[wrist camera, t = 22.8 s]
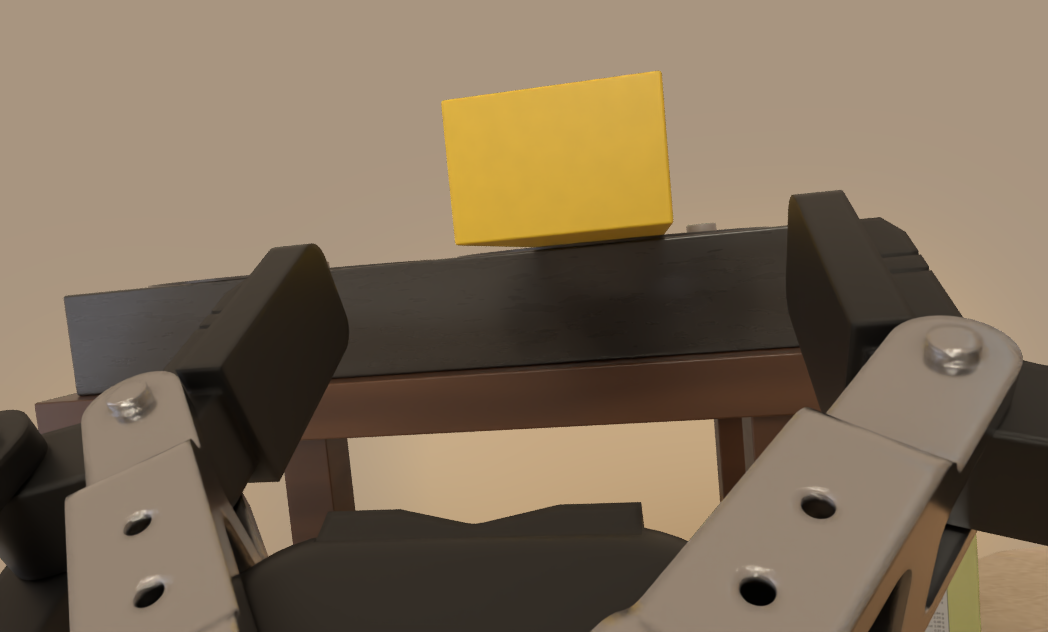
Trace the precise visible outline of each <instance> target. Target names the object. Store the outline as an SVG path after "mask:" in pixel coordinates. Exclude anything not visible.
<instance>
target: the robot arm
mask: <svg viewBox="0 0 1048 632" xmlns="http://www.w3.org/2000/svg"><path fill="white" fill-rule="evenodd" d="M786 297H787V305H788V311H789V316H790V319H791V322H792V325H793V328H794V331H795V334H796V337H797V340H798V343H799V346H800V349H801V352H802V355H803V358H804V361H805V364H806V367H807V370H808V373H809V376H810V379H811V382H812V385H813V388H814V391H815V394H816V397H817V400H818V403H819V407H820V410H821V411H818V410H815V409H813V408H810V407H804V408H802V409H800V410H799V411H798V412H797V413H796V414H795V415H794V416H793V417H792V418H791V419H790V420H789V421H788V423H787V424H786V425H785V426H784V427H783V429H782V430H781V431H780V432H779V433H778V435H777V436H776V437H775V438H774V439H773V441H772V442H771V443H770V444H769V445H768V447H767V448H766V449H765V450H764V451H763V453H762V454H761V455H760V456H759V457H758V459H757V460H756V461H755V462H754V463H753V465H752V466H751V467H750V468H749V469H748V471H747V472H746V473H745V474H744V475H743V477H742V478H741V479H740V480H739V481H738V482H737V484H736V485H735V486H734V487H733V488H732V490H731V491H730V492H729V493H728V494H727V496H726V497H725V498H724V499H723V500H722V502H721V503H720V504H719V505H718V506H717V508H716V509H715V510H714V511H713V512H712V514H711V515H710V516H709V517H708V518H707V520H706V521H705V522H704V523H703V525H702V526H701V527H700V528H699V529H698V530H697V532H696V533H695V534H694V535H693V536H692V538H691V539H690V540H689V541H686V540H684V539H682V538H679V537H676V536H673V535H670V534H667V533H664V532H661V531H656V530H651V529H647V528H644V524H643V523H644V522H643V514H642V506H641V502H631V503H599V504H564V505H556V506H552V507H547V508H543V509H539V510H535V511H530V512H526V513H522V514H518V515H514V516H509V517H505V518H501V519H497V520H493V521H489V522H484V523H478V524H470V523H463V522H459V521H454V520H449V519H444V518H439V517H434V516H430V515H425V514H420V513H415V512H410V511H406V510H401V509H398V510H397V509H396V510H362V511H328V513H327V515H326V517H325V520H324V522H323V525H322V527H321V529H320V532H319V534H318V537H315V538H311V539H308V540H305V541H303V542H300V543H297V544H294V545H291V546H289V547H287V548H285V549H282V550H280V551H278V552H276V553H274V554H273V555H271V556H269V557H268V554H267V552H266V549H265V546H264V543H263V541H262V538H261V535H260V532H259V530H258V527H257V524H256V521H255V518H254V516H253V513H252V510H251V507H250V505H249V504H248V502H247V500H246V498H245V496H244V494H243V493H242V492H243V490H244V488H245V486H246V485H247V483H255V482H279V481H280V479H281V477H282V475H283V473H284V472H285V470H286V468H287V466H288V464H289V462H290V460H291V458H292V456H293V454H294V452H295V450H296V448H297V446H298V444H299V442H300V440H301V438H302V436H303V434H304V432H305V430H306V428H307V426H308V424H309V422H310V420H311V418H312V416H313V414H314V412H315V410H316V408H317V406H318V404H319V402H320V400H321V398H322V396H323V395H324V393H325V391H326V389H327V387H328V385H329V383H330V381H331V379H332V377H333V375H334V373H335V371H336V369H337V367H338V365H339V363H340V361H341V359H342V357H343V355H344V353H345V351H346V349H347V346H348V341H349V325H348V319H347V316H346V313H345V310H344V307H343V304H342V302H341V299H340V296H339V294H338V291H337V288H336V285H335V283H334V280H333V277H332V275H331V272H330V269H329V267H328V264H327V261H326V259H325V256H324V254H323V252H322V250H321V249H320V248H319V247H318V246H317V245H316V244H303V245H293V246H283V247H275V248H272V249H271V250H270V251H269V252H268V253H267V254H266V255H265V257H264V258H263V259H262V261H261V262H260V263H259V264H258V266H257V267H256V268H255V269H254V271H253V272H252V273H251V274H250V276H249V277H248V278H246V279H245V280H243V281H242V282H241V283H239V284H238V285H236V286H235V287H234V288H232V289H231V290H229V291H228V292H227V293H225V295H224V296H223V297H222V298H221V299H220V301H219V302H218V303H217V304H216V306H215V307H214V308H213V309H212V310H211V315H207V317H206V318H205V319H204V320H203V322H202V323H201V324H200V325H199V329H197V330H195V331H194V333H193V334H192V335H191V336H190V338H189V339H188V340H187V341H186V342H185V344H184V345H183V346H182V347H181V349H180V350H179V351H178V352H177V354H176V355H175V356H174V357H173V358H172V360H171V361H170V362H169V363H168V365H167V366H166V367H165V368H164V369H163V371H154V372H147V373H143V374H139V375H136V376H133V377H131V378H128V379H126V380H123V381H121V382H119V383H117V384H116V385H114V386H112V387H110V388H109V389H107V390H106V391H104V392H103V393H102V394H100V395H99V396H98V397H97V398H96V399H95V400H93V401H92V402H91V404H90V405H89V406H88V407H87V408H86V410H85V412H84V413H83V416H82V418H81V423H79V424H75V425H72V426H68V427H65V428H61V429H57V430H54V431H50V432H47V433H43V434H41V433H40V432H39V431H38V430H37V428H36V427H35V425H34V424H33V423H32V421H31V420H30V418H29V417H28V416H27V415H26V414H25V413H24V412H22V411H18V410H6V411H0V558H1V559H2V560H3V562H4V563H5V564H6V565H7V566H6V567H5V569H4V570H3V571H2V572H1V574H0V632H925V630H926V628H927V626H928V625H929V623H930V621H931V619H932V617H933V615H934V613H935V611H936V609H937V607H938V605H939V603H940V602H941V600H942V598H943V596H944V594H945V592H946V590H947V588H948V586H949V584H950V582H951V580H952V579H953V577H954V575H955V573H956V571H957V569H958V567H959V565H960V563H961V561H962V559H963V557H964V556H965V554H966V552H967V550H968V548H969V546H970V544H971V542H972V540H973V538H974V536H975V534H976V533H977V531H982V532H987V533H991V534H996V535H1000V536H1005V537H1010V538H1014V539H1018V540H1023V541H1028V542H1033V543H1037V544H1041V545H1046V546H1048V366H1046V365H1041V364H1036V363H1032V362H1028V361H1024V360H1023V356H1022V353H1021V350H1020V349H1019V347H1018V346H1017V344H1016V343H1015V342H1014V341H1013V340H1012V339H1011V338H1010V337H1009V336H1007V335H1006V334H1005V333H1003V332H1002V331H999V330H998V329H996V328H994V327H992V326H990V325H987V324H985V323H982V322H979V321H975V320H972V319H967V318H963V317H962V315H961V314H960V312H959V311H958V309H957V308H956V306H955V305H954V303H953V302H952V300H951V299H950V297H949V296H948V294H947V293H946V292H945V290H944V288H943V287H942V285H941V284H940V282H939V281H938V279H937V278H936V276H935V275H934V273H933V272H932V271H929V266H928V264H927V263H926V261H925V260H924V258H923V257H922V256H921V255H919V254H918V250H917V248H916V247H915V245H914V244H913V242H912V241H911V239H910V238H909V236H908V235H907V234H906V232H905V231H903V230H901V229H899V228H898V227H896V226H894V225H893V224H891V223H889V222H887V221H886V220H884V219H882V218H880V217H878V218H867V219H859V218H858V216H857V214H856V212H855V211H854V209H853V207H852V205H851V204H850V202H849V200H848V198H847V197H846V195H845V193H844V192H843V191H842V190H835V191H825V192H816V193H807V194H797V195H792V196H791V197H790V201H789V209H788V232H787V260H786Z"/></svg>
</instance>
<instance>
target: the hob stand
mask: <svg viewBox="0 0 1048 632" xmlns="http://www.w3.org/2000/svg"><path fill="white" fill-rule="evenodd" d="M686 228H687V233H678V234H666V235H655V236H644V237H634V238H623V239H613V240H602V241H592V242H582V243H572V244H562V245H552V246H543V247H533V248H524V249H515V250H506V251H498V252H489V253H480V254H472V255H466V256H459V257H457V258H449V259H438V260H421V261H408V262H395V263H382V264H370V265H358V266H345V267H334V268H330V267H329V262H327V264H328V267H329V269H330V272H331V275H332V277H333V280H334V283H335V285H336V288H337V291H338V294H339V296H340V299H341V302H342V304H343V307H344V310H345V313H346V316H347V319H348V325H349V341H348V346H347V349H346V351H345V353H344V355H343V357H342V359H341V361H340V363H339V365H338V367H337V369H336V371H335V373H334V375H333V377H332V379H331V381H330V383H329V385H328V387H327V389H326V391H325V393H324V395H323V396H322V398H321V400H320V402H319V404H318V406H317V408H316V410H315V412H314V414H313V416H312V418H311V420H310V422H309V424H308V426H307V428H306V430H305V432H304V434H303V436H302V438H301V440H300V442H299V444H298V446H297V448H296V450H295V452H294V454H293V456H292V458H291V460H290V462H289V464H288V466H287V468H286V470H285V472H284V473H285V481H286V489H287V497H288V506H289V514H290V522H291V531H292V539H293V545H294V544H297V543H300V542H303V541H305V540H308V539H311V538H315V537H318V534H319V532H320V529H321V527H322V525H323V522H324V520H325V517H326V515H327V513H328V511H355V503H354V495H353V486H352V477H351V469H350V460H349V452H348V442H347V438H356V437H357V438H358V437H377V436H395V435H416V434H433V433H452V432H453V433H454V432H474V431H492V430H512V429H530V428H531V429H532V428H551V427H570V426H588V425H609V424H626V423H627V424H628V423H647V422H667V421H686V420H706V419H714V426H715V438H716V452H717V465H718V479H719V492H720V503H721V502H722V500H723V499H724V498H725V497H726V496H727V494H728V493H729V492H730V491H731V490H732V488H733V487H734V486H735V485H736V484H737V482H738V481H739V480H740V479H741V478H742V477H743V475H744V474H745V473H746V472H747V471H748V469H749V468H750V467H751V466H752V465H753V463H754V462H755V461H756V460H757V459H758V457H759V456H760V455H761V454H762V453H763V451H764V450H765V449H766V448H767V447H768V445H769V444H770V443H771V442H772V441H773V439H774V438H775V437H776V436H777V435H778V433H779V432H780V431H781V430H782V429H783V427H784V426H785V425H786V424H787V423H788V421H789V420H790V419H791V418H792V417H793V416H794V415H795V414H796V413H797V412H798V411H799V410H800V409H802V408H804V407H810V408H813V409H815V410H818V411H821V410H820V407H819V403H818V400H817V397H816V394H815V391H814V388H813V385H812V382H811V379H810V376H809V373H808V370H807V367H806V364H805V361H804V358H803V355H802V352H801V349H800V346H799V343H798V340H797V337H796V334H795V331H794V328H793V325H792V322H791V319H790V316H789V311H788V305H787V297H786V260H787V232H788V225H787V226H778V227H752V228H737V229H724V230H716V224H715V223H706V224H696V225H688V226H687V227H686ZM249 276H250V275H246V276H235V277H225V278H215V279H205V280H195V281H185V282H176V283H168V284H160V285H152V286H148V288H140V289H131V290H119V291H109V292H99V293H89V294H79V295H68V296H65V297H64V303H65V311H66V318H67V325H68V332H69V339H70V346H71V353H72V361H73V368H74V375H75V382H76V389H77V393H75V394H71V395H67V396H63V397H59V398H54V399H50V400H47V401H42V402H38V403H36V404H35V411H36V417H37V424H38V431H39V432H40V433H41V434H43V433H47V432H50V431H54V430H57V429H61V428H65V427H68V426H72V425H75V424H79V423H81V418H82V416H83V413H84V412H85V410H86V408H87V407H88V406H89V405H90V404H91V402H92V401H93V400H95V399H96V398H97V397H98V396H99V395H100V394H102V393H103V392H104V391H106V390H107V389H109V388H110V387H112V386H114V385H116V384H117V383H119V382H121V381H123V380H126V379H128V378H131V377H133V376H136V375H139V374H143V373H147V372H154V371H163V369H164V368H165V367H166V366H167V365H168V363H169V362H170V361H171V360H172V358H173V357H174V356H175V355H176V354H177V352H178V351H179V350H180V349H181V347H182V346H183V345H184V344H185V342H186V341H187V340H188V339H189V338H190V336H191V335H192V334H193V333H194V331H195V330H197V329H199V325H200V324H201V323H202V322H203V320H204V319H205V318H206V317H207V315H211V310H212V309H213V308H214V307H215V306H216V304H217V303H218V302H219V301H220V299H221V298H222V297H223V296H224V295H225V293H227V292H228V291H229V290H231V289H232V288H234V287H235V286H236V285H238V284H239V283H241V282H242V281H243V280H245V279H246V278H248V277H249Z"/></svg>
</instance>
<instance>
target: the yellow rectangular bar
mask: <svg viewBox="0 0 1048 632" xmlns="http://www.w3.org/2000/svg"><path fill="white" fill-rule="evenodd" d="M441 106H442V116H443V126H444V136H445V146H446V156H447V165H448V174H449V175H448V176H449V186H450V195H451V205H452V215H453V225H454V234H455V243H456V245H462V246H463V245H464V246H505V247H507V246H508V247H543V246H552V245H562V244H572V243H582V242H592V241H602V240H613V239H623V238H634V237H644V236H655V235H664V234H665V232H666V231H667V230H668V228H669V227H670V226H671V224H672V223H673V210H672V197H671V184H670V172H669V159H668V146H667V134H666V122H665V110H664V109H665V108H664V96H663V83H662V73H661V71H652V72H645V73H638V74H631V75H624V76H616V77H609V78H602V79H594V80H588V81H581V82H573V83H566V84H559V85H551V86H544V87H537V88H529V89H523V90H515V91H508V92H501V93H493V94H486V95H479V96H472V97H464V98H457V99H450V100H443V101H442V103H441Z"/></svg>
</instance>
